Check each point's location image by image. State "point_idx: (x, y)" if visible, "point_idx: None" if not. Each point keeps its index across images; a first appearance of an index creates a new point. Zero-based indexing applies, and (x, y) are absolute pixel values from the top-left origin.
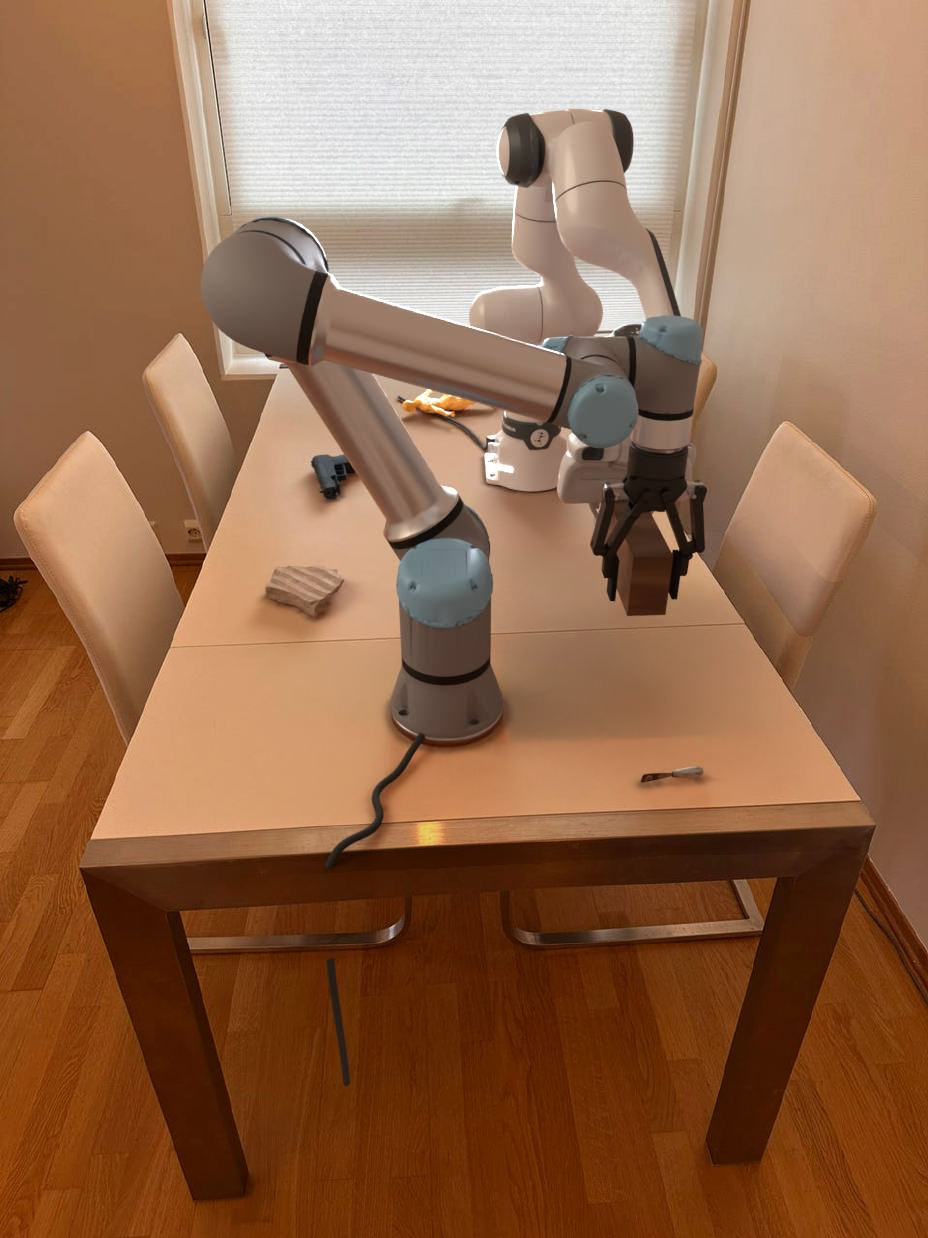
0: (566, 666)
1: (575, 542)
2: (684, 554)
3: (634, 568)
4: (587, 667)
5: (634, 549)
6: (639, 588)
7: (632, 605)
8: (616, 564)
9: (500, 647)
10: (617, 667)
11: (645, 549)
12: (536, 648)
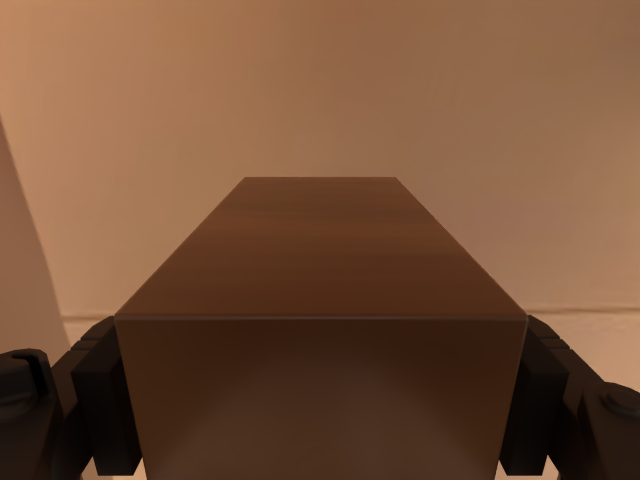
0: (494, 174)
1: None
2: (41, 399)
3: (461, 260)
4: (445, 166)
5: (463, 441)
6: (377, 210)
7: (388, 186)
8: (531, 353)
9: (623, 259)
10: (371, 162)
11: (365, 434)
12: (542, 250)
